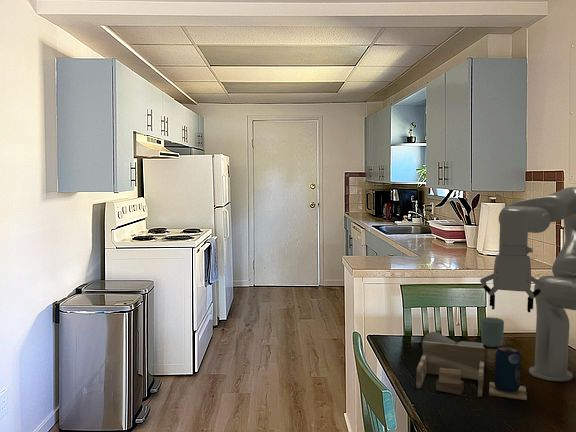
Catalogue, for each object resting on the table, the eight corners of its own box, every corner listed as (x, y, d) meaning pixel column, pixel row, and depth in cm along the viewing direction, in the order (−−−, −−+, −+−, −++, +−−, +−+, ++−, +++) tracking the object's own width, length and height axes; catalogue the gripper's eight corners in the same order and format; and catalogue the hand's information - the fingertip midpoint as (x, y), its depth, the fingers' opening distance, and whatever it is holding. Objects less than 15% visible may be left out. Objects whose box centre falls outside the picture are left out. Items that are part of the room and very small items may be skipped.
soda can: (522, 394, 165) (523, 352, 165) (496, 392, 166) (498, 351, 166) (516, 386, 172) (517, 346, 172) (491, 384, 173) (493, 344, 173)
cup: (476, 344, 219) (477, 317, 219) (493, 342, 222) (494, 316, 221) (489, 349, 212) (490, 322, 211) (507, 348, 214) (508, 321, 214)
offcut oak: (439, 377, 172) (439, 367, 172) (460, 379, 171) (460, 369, 171) (439, 382, 168) (439, 371, 168) (460, 384, 167) (461, 374, 167)
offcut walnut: (439, 386, 173) (439, 377, 173) (463, 391, 170) (463, 381, 170) (436, 391, 170) (436, 381, 169) (460, 395, 166) (460, 385, 166)
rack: (422, 371, 186) (423, 340, 185) (483, 379, 180) (484, 347, 179) (416, 388, 171) (417, 354, 170) (482, 396, 165) (483, 362, 164)
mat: (489, 383, 176) (489, 381, 176) (525, 388, 172) (525, 386, 172) (489, 395, 166) (489, 393, 166) (526, 400, 163) (526, 398, 163)
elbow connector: (418, 364, 190) (483, 370, 184) (420, 331, 192) (484, 336, 186) (421, 360, 207) (481, 366, 201) (423, 330, 209) (481, 335, 203)
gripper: (544, 251, 167) (542, 310, 168) (481, 248, 173) (479, 305, 174) (546, 254, 160) (544, 315, 161) (480, 250, 166) (478, 310, 167)
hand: (510, 310), depth 168 cm, fingers open, 9 cm apart
